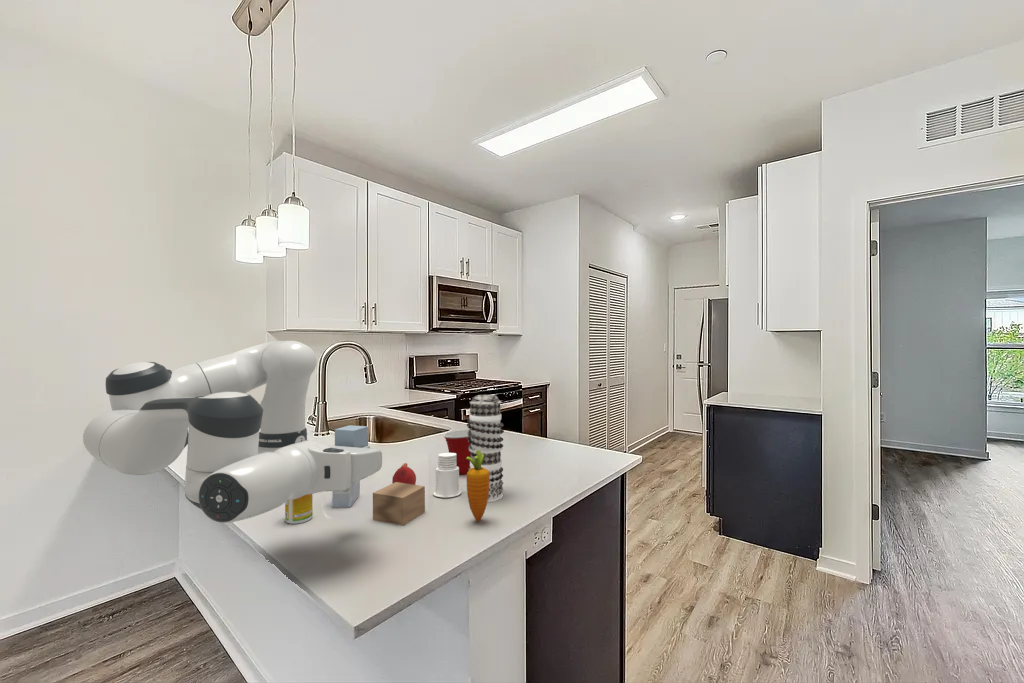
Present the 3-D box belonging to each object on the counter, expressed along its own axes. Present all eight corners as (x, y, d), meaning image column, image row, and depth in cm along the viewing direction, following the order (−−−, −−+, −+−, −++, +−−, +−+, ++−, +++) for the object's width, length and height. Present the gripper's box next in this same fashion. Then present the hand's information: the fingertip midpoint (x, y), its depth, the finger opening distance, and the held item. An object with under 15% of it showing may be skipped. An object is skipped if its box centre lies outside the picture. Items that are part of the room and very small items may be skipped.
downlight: (459, 499, 108) (459, 457, 109) (430, 499, 108) (430, 458, 109) (463, 489, 116) (463, 451, 117) (436, 489, 116) (436, 451, 117)
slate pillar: (334, 480, 88) (334, 429, 88) (349, 473, 92) (349, 425, 92) (354, 482, 86) (354, 430, 86) (368, 475, 91) (368, 426, 91)
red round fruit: (410, 499, 108) (409, 467, 108) (388, 498, 109) (388, 465, 109) (419, 491, 114) (419, 460, 114) (399, 490, 115) (398, 459, 115)
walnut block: (372, 520, 96) (372, 492, 96) (396, 507, 104) (395, 482, 104) (403, 526, 93) (403, 497, 93) (424, 512, 101) (424, 486, 101)
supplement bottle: (317, 515, 99) (317, 472, 99) (301, 525, 94) (301, 479, 94) (297, 513, 100) (296, 470, 100) (279, 523, 95) (279, 477, 95)
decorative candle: (459, 496, 110) (458, 396, 110) (486, 487, 117) (485, 392, 117) (484, 505, 104) (484, 399, 104) (511, 495, 111) (511, 395, 111)
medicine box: (342, 496, 111) (341, 461, 111) (360, 495, 111) (360, 461, 111) (332, 508, 103) (331, 471, 103) (351, 507, 104) (351, 470, 104)
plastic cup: (449, 466, 137) (448, 427, 137) (483, 467, 136) (483, 428, 135) (438, 476, 126) (438, 434, 126) (475, 478, 125) (475, 435, 125)
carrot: (480, 528, 92) (480, 455, 92) (461, 523, 94) (461, 452, 94) (494, 520, 96) (494, 450, 96) (475, 515, 98) (475, 447, 98)
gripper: (256, 480, 80) (312, 460, 93) (353, 491, 74) (398, 468, 87) (256, 445, 80) (312, 430, 93) (352, 453, 74) (398, 436, 87)
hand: (354, 448), depth 90 cm, fingers closed on slate pillar, 4 cm apart
